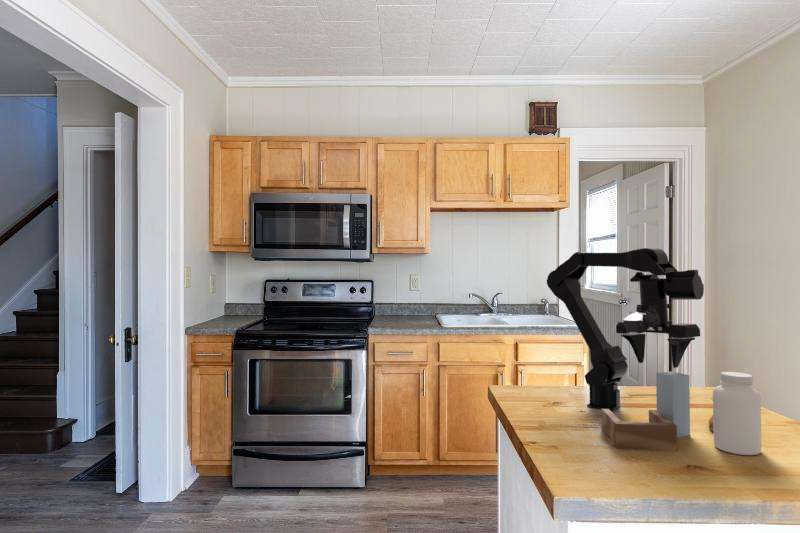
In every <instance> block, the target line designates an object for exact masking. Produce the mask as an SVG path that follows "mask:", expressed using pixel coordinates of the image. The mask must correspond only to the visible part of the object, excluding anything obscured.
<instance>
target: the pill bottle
mask: <svg viewBox="0 0 800 533" xmlns="http://www.w3.org/2000/svg"><path fill="white" fill-rule="evenodd" d="M753 378H754V377H753V375H752V374H750V373H745V372H744V373H743V372H737V371H723V372H721V373H720V381H719V382H720V385H717V386H715V387H714V389H713V390H712V416H713V431H712V432H713V434H712V435H713V445H714V446H715V447H716V448H717V449H719V450H722V451H723V452H727V453H730V454H734V455H741V456H755V455H760V454H761V452H762V408H761V407H762V406H761V405H762V403H761V399H762V398H761V395H760V393H759V391H757V390H756V389H754V388H752V386H753V382H754V379H753Z"/></svg>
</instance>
